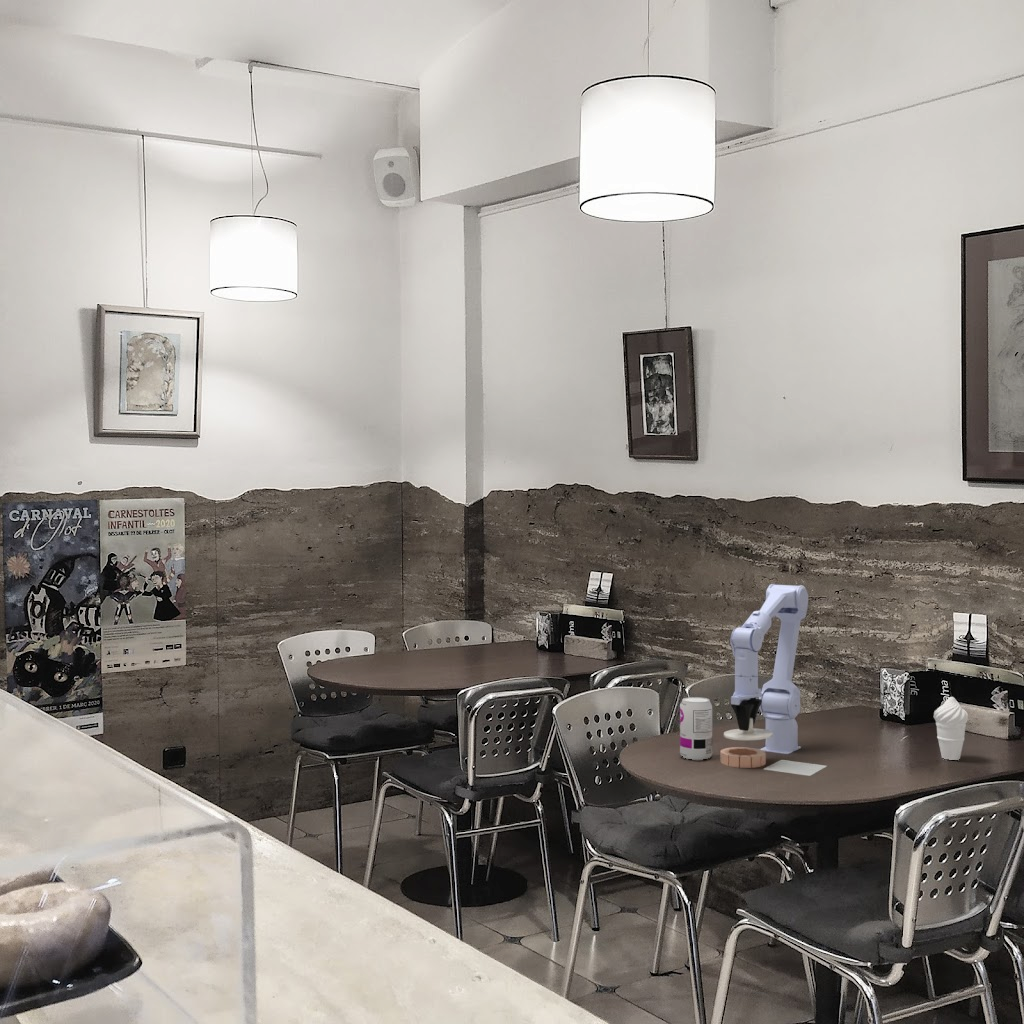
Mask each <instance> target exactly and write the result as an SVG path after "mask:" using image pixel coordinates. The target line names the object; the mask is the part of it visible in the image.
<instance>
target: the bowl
mask: <svg viewBox="0 0 1024 1024" xmlns="http://www.w3.org/2000/svg"><path fill="white" fill-rule="evenodd" d="M760 749H761V748H756V747H755V748H754V747H745V746H743V747H742V746H735V747H734V746H733V747H726V748H725V747H724V748H722V749H720V754H719V755H720V756H719V758H720V763H721V764H722V765H724V766H727V767H732V768H740V769H741V768H743V769H744V768H746V769H747V768H748V769H749V768H750V769H752V768H761V767H763V766H765V765H766V764H767V753H766V751H763V750H760Z"/></svg>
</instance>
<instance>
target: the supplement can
mask: <svg viewBox="0 0 1024 1024" xmlns="http://www.w3.org/2000/svg"><path fill="white" fill-rule="evenodd" d="M679 755H680V756H681V757H682V756H683V757H682V758H683V759H685V758H686V759H685V760H688V759H692V760H691V761H704V760H703V759H707V760H709V759H710V758H711V757H712V756H713V705H712V702H711V701H710V699H709V698H706V697H699V696H698V697H695V696H694V697H693V696H692V697H691V696H689V697H684V698H682V701H681V702H680V704H679ZM708 758H709V759H708Z"/></svg>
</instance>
